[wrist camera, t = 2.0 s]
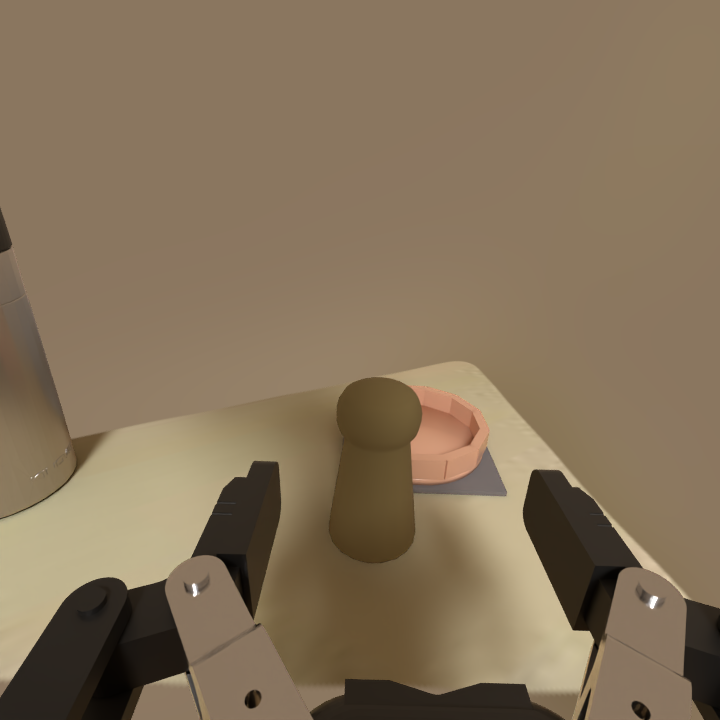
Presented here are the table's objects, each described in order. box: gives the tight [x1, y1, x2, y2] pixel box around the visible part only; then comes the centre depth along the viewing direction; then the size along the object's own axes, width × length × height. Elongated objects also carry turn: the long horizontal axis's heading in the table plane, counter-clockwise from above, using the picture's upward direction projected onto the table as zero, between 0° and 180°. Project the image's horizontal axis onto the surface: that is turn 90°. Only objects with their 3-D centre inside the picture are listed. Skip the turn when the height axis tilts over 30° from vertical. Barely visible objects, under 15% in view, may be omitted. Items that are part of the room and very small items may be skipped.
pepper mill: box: [329, 377, 422, 563], centre depth 27 cm, size 6×6×11 cm
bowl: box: [409, 386, 489, 485], centre depth 37 cm, size 12×12×2 cm
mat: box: [343, 438, 507, 496], centre depth 38 cm, size 13×13×1 cm
